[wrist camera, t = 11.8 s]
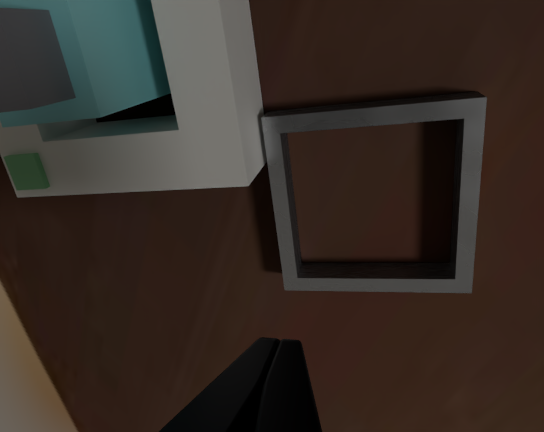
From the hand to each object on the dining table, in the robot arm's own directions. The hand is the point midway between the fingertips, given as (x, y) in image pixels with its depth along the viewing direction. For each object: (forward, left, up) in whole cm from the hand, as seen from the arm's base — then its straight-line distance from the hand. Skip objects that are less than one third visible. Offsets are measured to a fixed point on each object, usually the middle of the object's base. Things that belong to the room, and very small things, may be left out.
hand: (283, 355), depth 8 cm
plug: (+9, -6, -13) cm, 17 cm away
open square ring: (-2, +2, -13) cm, 13 cm away
